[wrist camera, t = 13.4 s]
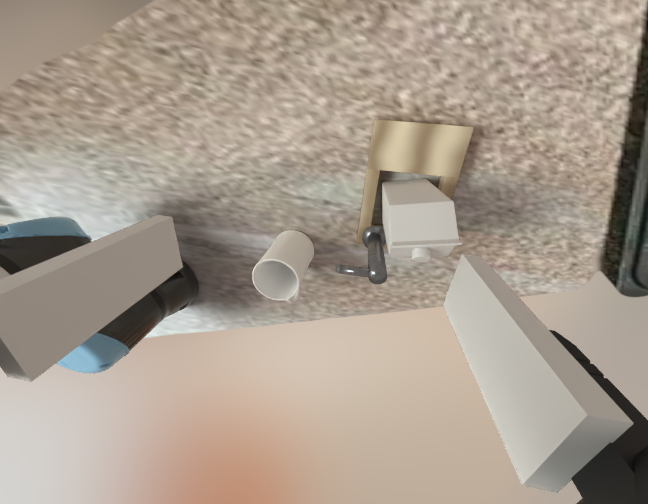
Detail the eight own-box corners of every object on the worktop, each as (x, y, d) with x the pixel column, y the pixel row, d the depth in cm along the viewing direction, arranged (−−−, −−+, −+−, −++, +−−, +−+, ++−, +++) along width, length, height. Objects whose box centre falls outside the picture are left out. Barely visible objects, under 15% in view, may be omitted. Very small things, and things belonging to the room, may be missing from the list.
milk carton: (381, 181, 43) (392, 215, 26) (425, 177, 41) (466, 211, 25) (382, 221, 46) (392, 274, 29) (423, 218, 44) (458, 273, 28)
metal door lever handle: (343, 238, 48) (334, 284, 34) (345, 217, 46) (337, 256, 32) (383, 243, 48) (391, 292, 33) (388, 222, 46) (398, 264, 31)
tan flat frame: (357, 237, 48) (356, 242, 46) (374, 119, 39) (374, 119, 37) (431, 246, 46) (435, 252, 44) (467, 127, 37) (474, 127, 35)
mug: (320, 279, 53) (308, 316, 43) (282, 281, 55) (262, 317, 44) (310, 227, 48) (294, 255, 38) (269, 231, 50) (243, 259, 40)
